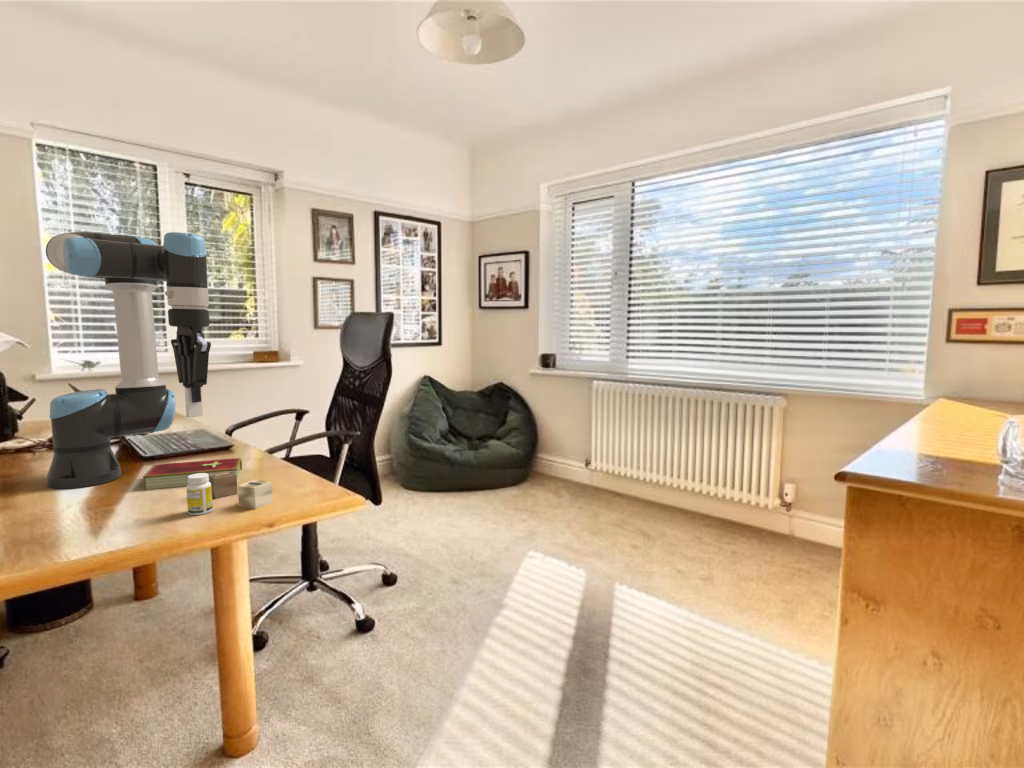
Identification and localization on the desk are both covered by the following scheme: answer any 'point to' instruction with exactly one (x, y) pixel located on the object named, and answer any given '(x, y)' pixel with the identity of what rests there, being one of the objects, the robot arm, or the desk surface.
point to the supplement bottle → (199, 494)
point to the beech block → (255, 494)
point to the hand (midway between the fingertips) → (194, 416)
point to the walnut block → (223, 484)
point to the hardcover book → (187, 471)
